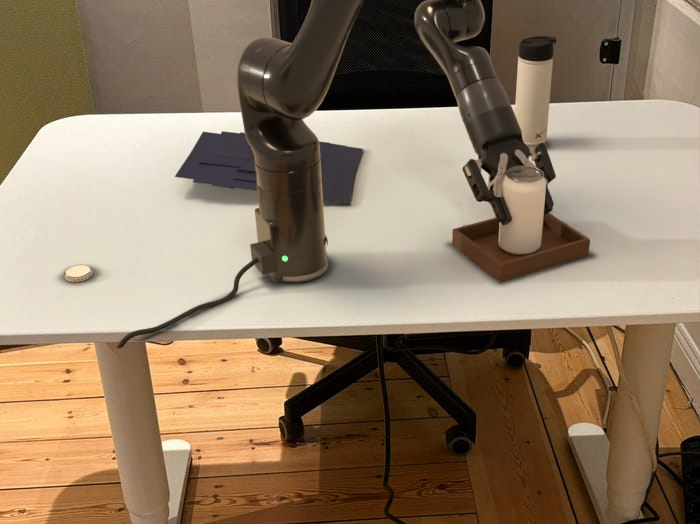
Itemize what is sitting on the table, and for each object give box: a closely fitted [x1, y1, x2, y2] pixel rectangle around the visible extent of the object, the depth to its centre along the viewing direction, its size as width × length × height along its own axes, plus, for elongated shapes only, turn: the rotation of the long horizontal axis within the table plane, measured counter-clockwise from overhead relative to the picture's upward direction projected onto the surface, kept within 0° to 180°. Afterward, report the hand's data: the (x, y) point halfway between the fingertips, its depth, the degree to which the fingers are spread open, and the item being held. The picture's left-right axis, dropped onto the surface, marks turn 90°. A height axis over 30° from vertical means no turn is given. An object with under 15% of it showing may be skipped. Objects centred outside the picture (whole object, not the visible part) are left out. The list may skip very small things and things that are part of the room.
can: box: [499, 166, 546, 255], centre depth 139 cm, size 6×6×12 cm
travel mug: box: [514, 35, 557, 147], centre depth 172 cm, size 6×7×20 cm
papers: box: [174, 130, 364, 204], centre depth 166 cm, size 24×30×4 cm
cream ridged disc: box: [63, 264, 94, 283], centre depth 138 cm, size 4×4×1 cm
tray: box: [451, 212, 591, 283], centre depth 142 cm, size 16×13×3 cm
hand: (528, 217), depth 138 cm, fingers open, 7 cm apart
